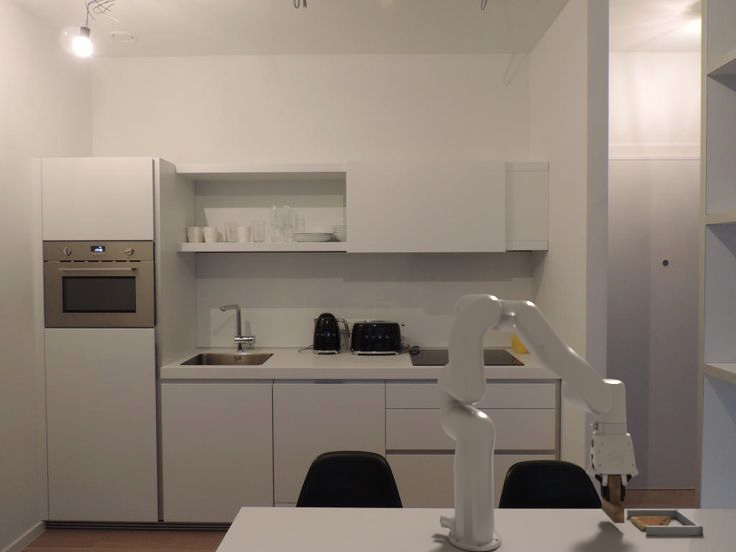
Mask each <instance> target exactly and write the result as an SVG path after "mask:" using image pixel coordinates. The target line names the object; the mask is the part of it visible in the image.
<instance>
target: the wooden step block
mask: <svg viewBox="0 0 736 552" xmlns="http://www.w3.org/2000/svg"><path fill="white" fill-rule="evenodd" d="M607 485H608V486H609V490H610V501H609V502H607V501H605V500H604V499H603V497H602V496H601V510H602V511H603V513H604V514H605V515H606V516H608V518H609V519H610V520H611V522H613V523H614V524H625V506H624V505H623V504H622V501H621V476H620V475H608V478H607Z"/></svg>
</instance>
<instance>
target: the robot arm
mask: <svg viewBox="0 0 736 552" xmlns="http://www.w3.org/2000/svg"><path fill="white" fill-rule="evenodd" d="M453 312H454V317H455V321H454V322H453V324H452V326H451V327H450V328H451V329H450V330H449V334H448V340H447V348H448V349H447V350H448V363H447V364H445V365H444V366H443V367H442V368H441V369H440V371H439V373H438V376H437V377H438V378H437V394H438V396H437V397H438V406H439V407H438V408H439V415H440V416H439V417H440V423H441V426H442V429H443V431H444V433H445V434H446V435H448V437H450V438H451V439H452V440H454V441H455V443H456V444H455V445H456V446H455V452H454V458H453V482H454V483H453V491H454V495H453V496H454V497H453V498H454V516H452V517H450V516H446V515H440V517H439V524H440V527H441V528H445V529H449V530H450V531H449V532H448V541H449V542H450V543H451V544H452V545H453V546H454V547H456V548H459V549H461V550H465V551H471V552H487V551H491V550H496V549H498V547H500V545H501V544H502V536H501V534H500V533H499V532H498V531H496V530H495V494H494V493H495V489H494V485H495V483H494V452H495V446H496V440H497V439H496V438H497V431H496V426H495V424H494V422H493V420H492V419H491V417H489V415H488V414H486V413H485V412H483V411H482V410H479V409H478V408H476V407H475V405H476V404H479V403H481V402H482V401H483V399H484V398H485V396H486V393H487V378H486V370H485V360H484V358H485V357H484V343H485V339H486V336H487V334H488V332H490V331H497V332H506V333H514V334H515V336H516V337H517V338H518V339H519V340H520V342H521V343H522V345H523V346H524V348H525V349H526V350H527V351H528V353H530V356H532V358H533V359H534V361H535V362H536V363H537V364H538V365H540V366H541V367H542V368H544V369H545V370H547V371H548V372H550V373H552V374H553V375H556V376H557V377H558V378H560V379H561V380H562V381H564V382H565V383H564V384H563V385H562V387H561V389H560V390H561V391H560V394H561V399H562V400H563V402H564V403H565V404H567V405H568V406H569V407H571V408H574V409H577V410H579V411H583V412H585V413H589V414H591V415H594V420H593V423H590V424H589V429H590V430H594V431H592V436H591V441H590V449H589V451H590V453H589V464H588V466H587V468H586V470H585V473H586V474H587V475H588V476H590V477H593V478H594V479H596V480H597V481H598V482H599V485H600V496H601V498H602V497H603V499H604V500H605V501H607V502H609V501H610V490H609V486H608V485H607V478H608V475H620V476H621V503H623V502H625V497H626V487H627V485H628V482H630V480H631V479H632V478H634V477H636V476H637V475H639V474H640V473H639V470H638V469H637V467H636V459H635V458H636V457H635V450H634V445H633V440H632V437H631V434H630V433H628V431H627V429H628V427H627V409H626V408H627V407H626V406H627V405H626V400H627V399H626V387H625V384H624V382H623V381H621V380H618V379H613V378H612V379H611V378H602V377H601V375H600V374H599V373H598V372H597V370H596V369H595V368H594V367H593V366H592V365H591V364H590V363H588V361H586V360H585V358H583V357H582V356H580V355H579V354H578V353H577V352H576V350H574V349H572V347H570V346H569V345H567V343H566V342H565V341H564V340H563V338H562V337H561V336H560V334H559V333H558V332H557V331H556V329H555V328H554V327H553V325H552V324H551V323H550V322H549V320H548V319H547V317H545V314H543V312H542V311H541V310H540V308H538V306H537V305H536V304H534V303H533V302H531V301H528V300H506V299H498V298H497V297H496V296H495V295H491V294H487V293H477V294H475V293H474V294H465V295H463V296H461V297H459V299H458V300H457V301H456V303H455V304H454V309H453Z"/></svg>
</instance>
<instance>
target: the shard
mask: <svg viewBox="0 0 736 552" xmlns="http://www.w3.org/2000/svg"><path fill="white" fill-rule="evenodd" d="M670 519H672V518H671V516H637V517H631V518H630V522H631V523H633V524H635V526H637V527H638V528H639V529H640V530H642V531H644V530H645V531H646V526H668V524H669V523H670V521H671V520H670Z"/></svg>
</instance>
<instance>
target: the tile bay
mask: <svg viewBox="0 0 736 552" xmlns="http://www.w3.org/2000/svg"><path fill="white" fill-rule="evenodd" d="M637 516H671V518H670V519H675V518H676V519H677V520H678V521H679V522H681V523H682V524H683V525H666V526H646V530H645V532H646V533H645V534H646V535H647V536H703V535H704V526H702V525H701V524H700V523H698V522H696V521H695V520H694V519H693V518H691V517H690V516H688V515H687V514H686V513H685V512H683V511H681V510H680V509H678V508H634V509H633V508H629V509H628V508H626V517H627V518H629V519H631V517H637Z"/></svg>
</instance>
